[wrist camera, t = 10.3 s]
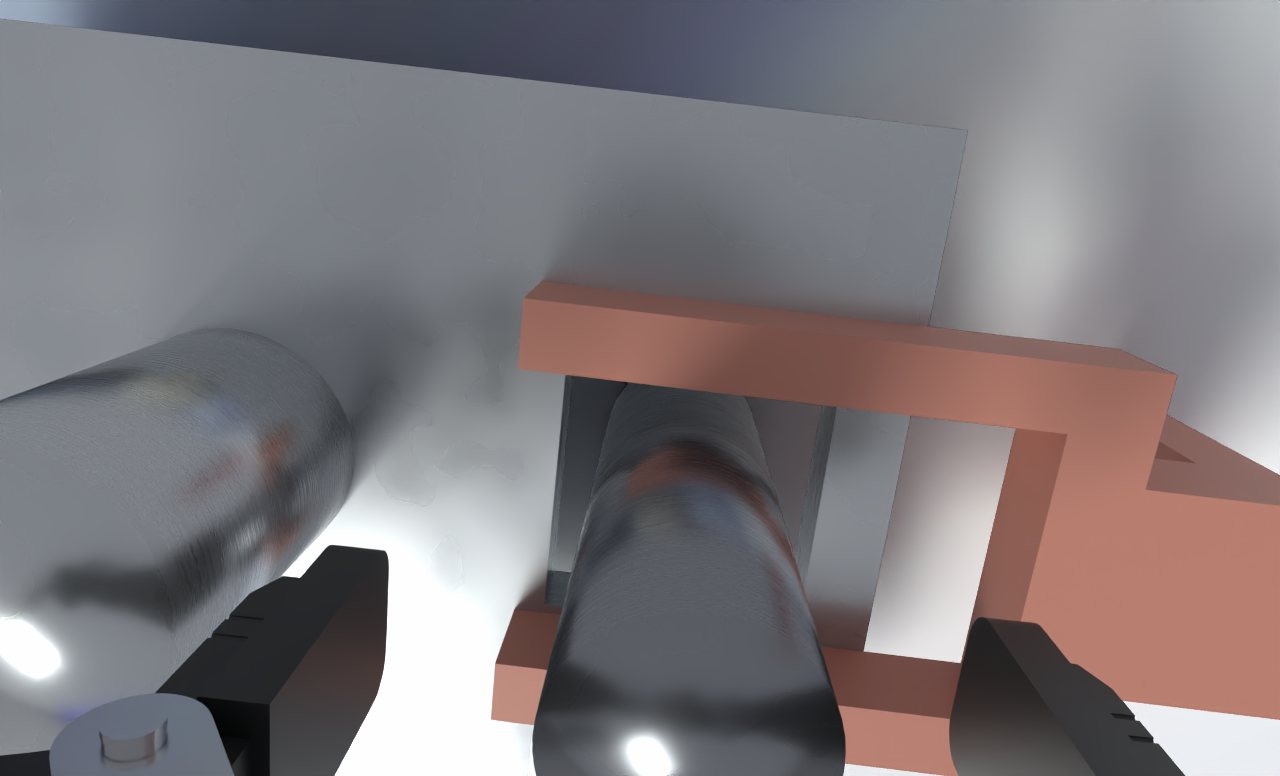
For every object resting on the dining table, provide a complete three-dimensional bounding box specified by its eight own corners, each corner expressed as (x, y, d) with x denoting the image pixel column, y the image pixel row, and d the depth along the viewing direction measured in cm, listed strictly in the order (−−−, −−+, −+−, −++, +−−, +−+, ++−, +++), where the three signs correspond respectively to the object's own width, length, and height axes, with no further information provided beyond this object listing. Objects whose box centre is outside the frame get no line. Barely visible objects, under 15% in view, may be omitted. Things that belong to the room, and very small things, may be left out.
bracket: (542, 563, 23) (490, 720, 16) (570, 254, 21) (523, 298, 14) (1090, 630, 23) (1249, 812, 16) (1174, 325, 21) (1393, 400, 14)
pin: (601, 491, 22) (520, 862, 11) (616, 353, 21) (545, 593, 10) (743, 508, 22) (818, 898, 11) (764, 370, 21) (872, 633, 10)
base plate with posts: (60, 624, 24) (-436, 1005, 13) (21, 33, 20) (-731, -104, 9) (798, 714, 24) (896, 1173, 13) (903, 135, 20) (1168, 114, 9)
